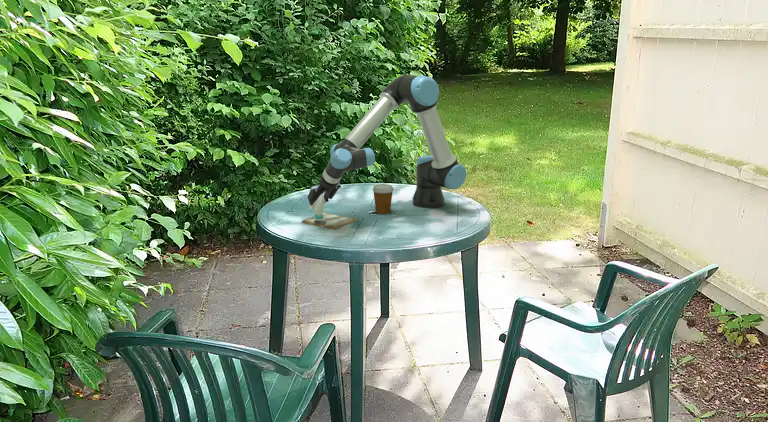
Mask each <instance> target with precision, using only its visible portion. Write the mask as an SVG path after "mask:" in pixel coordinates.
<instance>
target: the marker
mask: <svg viewBox="0 0 768 422" xmlns="http://www.w3.org/2000/svg"><path fill="white" fill-rule="evenodd" d="M323 196H324V194H321V195H320V196H319V198H318V199H317V200H316V204H315V206H314V208H313V210H314V216H315V218H317V219H320V218H323V213H324V205H323Z"/></svg>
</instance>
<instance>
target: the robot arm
mask: <svg viewBox="0 0 768 422" xmlns="http://www.w3.org/2000/svg"><path fill="white" fill-rule="evenodd" d="M439 95H440V88H439V84H438V83H437V81H435V80H434V78H432V77H429V76H426V75H413V74H412V75H410V74H403V75H400V76H398V77H396V78H395V79H394V80H392V81H390V83H388V85H387V86H385V88H384V89H383V90H382V91H381V92H380V94H379V96H380V97H379V98H378V100H377V101H376V102H375V103H374V104H373V105H372V106H371V108H370V109H369V110H368V111H367V112H366V114H364V116H363V117H362V118H361V120H359V121H358V123H357V124H356V125H355V126H354V127H353V128H352V130H351V131H350V132H349V133H348V134H347V135H346V137H345V138H343V140H342V141H341V142H340V143H335V144H333V145H332V146H331V148H330V150H329V151H330V152H329V154H330V159H329V161H328V163H327V165H326V167H325V168H324V170H323V172H322V174H321V176H320V179H319V182H318V183H317V184H316V185H314V184H311V185H310V190H309V192H308V194H307V200H308V203H309V204H308V208H309V211H313V210H314V206H315V204H316V200H317V199H318V198H319V196H320V195H321V194H322V195H323V206H324V204H326V203H328V202H330V200H332V199H333V198H334V196H336V193H337V192H339V191H338V190H339V189H341V188H342V185H341V183H340V181H341V179H342V178H343V176H344V174H345V173H346V172H349V171H354V170H359V169H363V168H368V167H371V166H373V165H374V164H375V161H376V158H375V157H376V155H375V153H374V151H373V149H372V148H371V147H363V146H364V144H365V143H366V142H367V141H368V140H369V139H370V137H371V136H372V135H373V134H374V132H375V131H376V130H377V129H378V128H379V127H380V126H381V124H382V123H383V122H384V121H385V120H386V119H387V118H388V116H390V114H392V112H393V110H396V109H398V108H399V107H400V106H401V105H403V104H404V103H406V104H409V107H410V110H411V112H412V113H413V114H416V116H417V118H418V122H419V124H420V127H421V130H422V134H423V135H424V138H425V141H426V145H427V147H428V149H429V153H430V155H429V154H428V155H422V156H418V157H417V158H416V159H417V160H416V164H415V165H416V186H415V191H414V193H413V197H412V205H414V206H416V207H419V208H428V209H429V208H430V209H431V208H433V209H434V208H440V207H444V205H445V196H444V193H443V190H442V188H444V189H447V190H452V191H453V190H458V189H460V188H461V187H462V185H464V183H465V181H466V178H467V169H466V167H465V166H464V165H463V164H462V163H461V164H460V163H459V161H458V158H457V156H456V154H453V153H452V151H451V148H450V145H449V142H448V139H447V136H446V133H445V131H444V127H443V125H442V122H441V119H440V116H439V113H438V110H437V105H438V103H439V102H438V99H439ZM361 147H363V148H361Z"/></svg>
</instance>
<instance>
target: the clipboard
mask: <svg viewBox="0 0 768 422" xmlns="http://www.w3.org/2000/svg"><path fill="white" fill-rule="evenodd" d="M357 221H358V219H357V218H354V217H348V216H343V215H338V214H332V213H326V212H323V218H320V219H317V218H315V215H314V216H311V217H308V218H305V219H303V220H301V223H302V224H307V225H312V226H317V227H322V228H326V229H331V230H338V229H341V228H342V227H344V226H348V225H350V224H352V223H355V222H357Z"/></svg>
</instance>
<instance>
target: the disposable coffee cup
mask: <svg viewBox="0 0 768 422" xmlns="http://www.w3.org/2000/svg"><path fill="white" fill-rule="evenodd" d="M393 187H394V186H393V185H392V184H386V183H383V184H381V183H378V184H375V185H373V188H372V192H373V197H374V198H373V199H374V207H375V213H377V214H378V215H388V214H390V213H391V207H392V199H393V192H394V188H393Z"/></svg>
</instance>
